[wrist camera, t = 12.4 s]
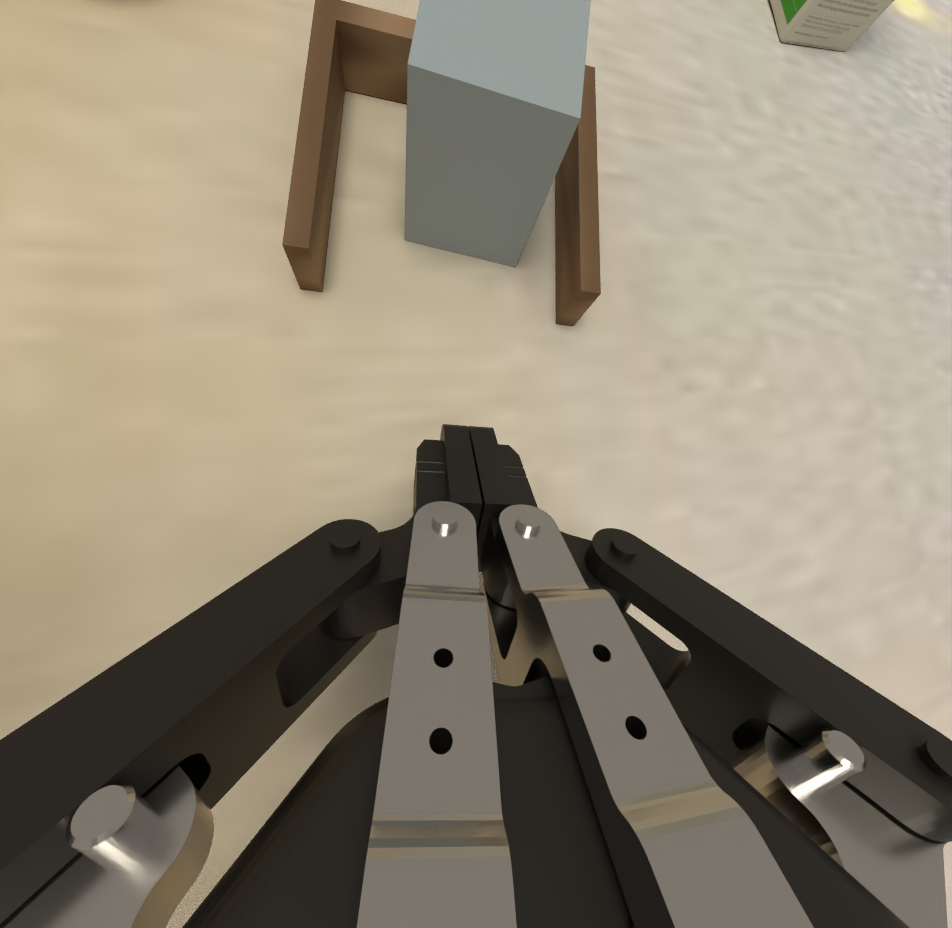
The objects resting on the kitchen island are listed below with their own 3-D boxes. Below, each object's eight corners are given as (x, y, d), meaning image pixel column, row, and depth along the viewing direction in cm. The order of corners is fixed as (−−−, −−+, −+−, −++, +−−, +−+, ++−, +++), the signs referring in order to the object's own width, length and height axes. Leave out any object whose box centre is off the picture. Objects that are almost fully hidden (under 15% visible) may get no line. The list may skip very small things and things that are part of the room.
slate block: (404, 240, 20) (407, 63, 13) (421, 146, 22) (433, -70, 14) (515, 267, 21) (580, 118, 14) (525, 175, 23) (591, -10, 15)
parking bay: (300, 288, 19) (282, 244, 16) (327, 67, 21) (316, -7, 18) (573, 325, 21) (600, 293, 19) (570, 124, 24) (594, 67, 21)
